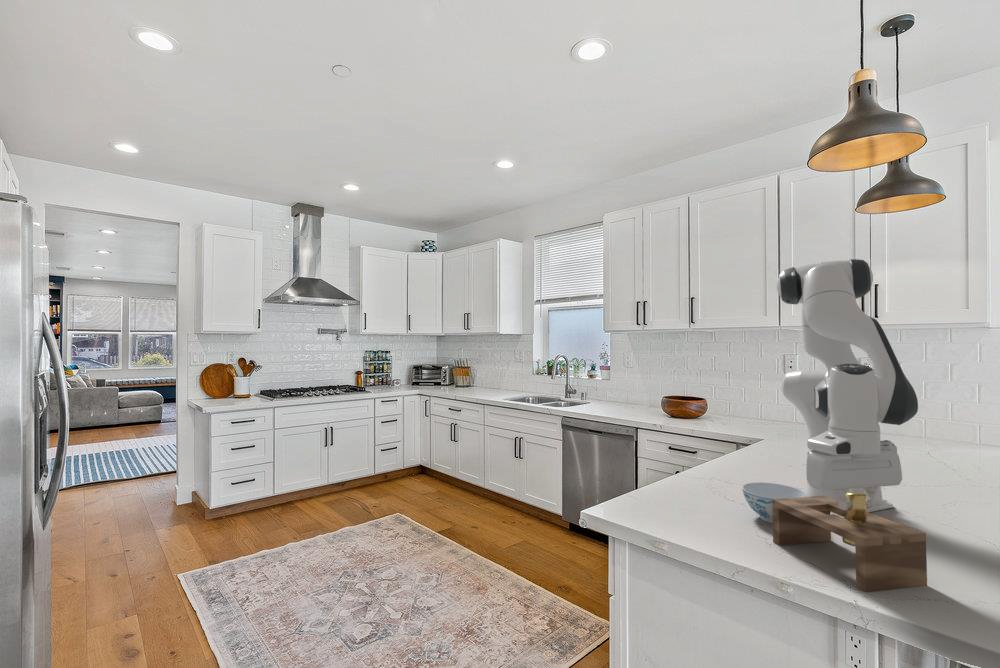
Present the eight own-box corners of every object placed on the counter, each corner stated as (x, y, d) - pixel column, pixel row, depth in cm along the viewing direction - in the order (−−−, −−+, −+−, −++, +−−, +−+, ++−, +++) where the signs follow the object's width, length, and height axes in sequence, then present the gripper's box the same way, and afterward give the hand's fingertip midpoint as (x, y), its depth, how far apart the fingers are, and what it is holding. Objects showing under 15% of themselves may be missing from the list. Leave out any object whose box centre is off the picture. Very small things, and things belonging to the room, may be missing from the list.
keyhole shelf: (773, 541, 115) (772, 499, 116) (824, 537, 118) (823, 495, 118) (865, 592, 92) (864, 538, 92) (927, 585, 94) (925, 533, 95)
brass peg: (856, 537, 104) (855, 489, 105) (877, 546, 100) (875, 496, 100) (836, 539, 104) (835, 491, 104) (857, 548, 99) (855, 498, 99)
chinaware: (732, 509, 138) (732, 482, 138) (786, 509, 137) (786, 482, 138) (759, 529, 123) (758, 499, 123) (820, 530, 122) (819, 499, 123)
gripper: (881, 436, 107) (883, 500, 107) (800, 441, 103) (801, 506, 103) (910, 442, 101) (912, 509, 101) (825, 447, 97) (826, 517, 97)
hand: (855, 508), depth 102 cm, fingers open, 4 cm apart
